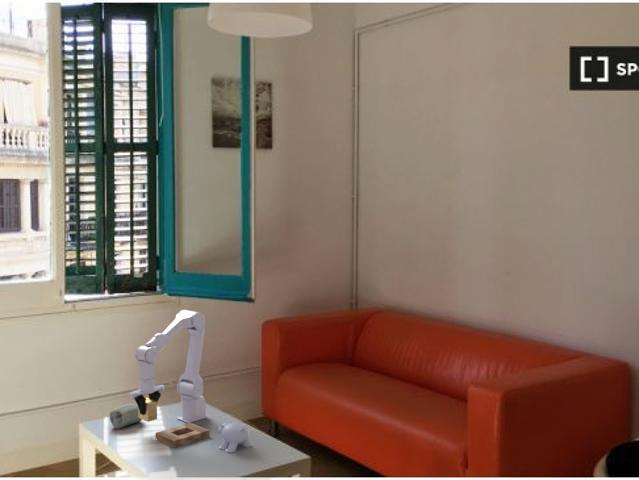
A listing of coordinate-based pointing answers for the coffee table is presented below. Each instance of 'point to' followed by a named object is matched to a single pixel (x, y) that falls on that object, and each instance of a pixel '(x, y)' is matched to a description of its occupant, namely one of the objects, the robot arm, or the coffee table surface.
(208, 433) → the slot board
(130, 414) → the grey cylinder
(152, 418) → the key peg
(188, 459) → the coffee table surface
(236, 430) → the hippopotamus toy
